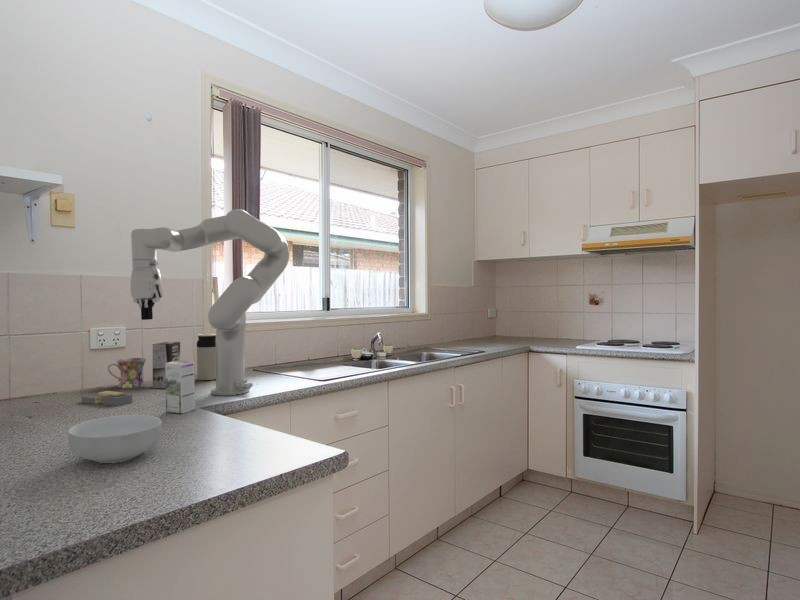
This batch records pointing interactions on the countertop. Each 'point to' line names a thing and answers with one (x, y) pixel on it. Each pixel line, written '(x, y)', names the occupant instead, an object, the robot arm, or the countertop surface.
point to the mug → (130, 372)
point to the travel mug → (206, 357)
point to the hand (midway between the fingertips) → (147, 319)
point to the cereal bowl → (114, 437)
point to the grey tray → (110, 400)
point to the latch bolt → (109, 393)
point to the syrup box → (180, 386)
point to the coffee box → (163, 361)
